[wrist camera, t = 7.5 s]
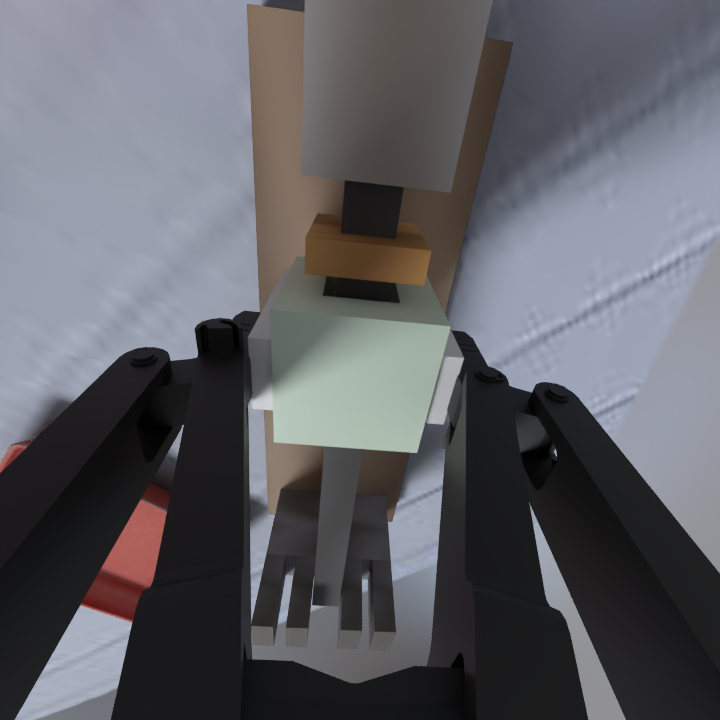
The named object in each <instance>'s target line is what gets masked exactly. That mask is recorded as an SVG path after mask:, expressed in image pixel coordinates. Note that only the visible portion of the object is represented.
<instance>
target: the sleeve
mask: <svg viewBox="0 0 720 720" xmlns="http://www.w3.org/2000/svg"><path fill="white" fill-rule="evenodd" d="M304 273H305V257H302V256H297V257H296V259H295V261H294V263H293V265H292V267H291V269H290V271H289V273H288V275H287V277H286V279H285V281H284V283H283V285H282V287H281V289H280V291H279V293H278V295H277V297H276V299H275V301H274V303H273V305H272V307H271V309H270V313H271V352H272V391H273V430H274V442H275V443H288V444H302V445H315V446H328V447H342V448H355V449H369V450H382V451H396V452H409V453H417V451H418V448H419V444H420V440H421V436H422V433H423V429H424V425H425V421H426V418H427V414H428V410H429V407H430V403H431V399H432V395H433V392H434V388H435V384H436V380H437V377H438V373H439V369H440V365H441V362H442V358H443V354H444V351H445V347H446V343H447V339H448V336H449V332H450V328H451V326H450V323H449V321H448V319H447V317H446V315H445V313H444V311H443V309H442V307H441V305H440V302H439V300H438V298H437V296H436V294H435V292H434V290H433V288H432V286H431V284H430V281H429V279H428V277H427V275H426V280H425V284H424V286H419V285H410V284H400V283H390V282H389V286H388V292H387V299H386V302H381V301H371V300H361V299H351V298H341V297H336V289H337V277H332V276H322V275H312V274H304Z"/></svg>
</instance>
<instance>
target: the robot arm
mask: <svg viewBox="0 0 720 720" xmlns="http://www.w3.org/2000/svg"><path fill="white" fill-rule="evenodd" d="M290 269H291V268H285V269H284V271H283V273H282V275H281V277H280V279H279V281H278V282H277V284H276V286H275V288H274V290H273V292H272V294H271V295H270V297H269V299H268V301H267V303H266V305H265V307H264V308H263V310H262V312H251V311H243V312H241V313H240V314H238V315H236V316H235V317H234V318H233V320H231V319H224V318H218V319H210V320H206V321H203V322H201V323H200V324H198V325H197V326H196V328H195V334H196V341H197V348H198V357H197V358H194V359H187V360H176V361H170V357H169V354H168V352H167V351H165V350H163V349H160V348H155V347H143V348H137V349H134V350H132V351H129V352H127V353H125V354H123V355H122V356H120V357H119V358H118V359H117V360H116V361H115V362H114V363H113V364H112V365H111V366H110V367H109V368H108V369H107V370H106V371H105V372H104V373H103V374H102V375H101V376H100V377H99V378H98V379H97V380H96V381H95V382H93V383H92V384H91V385H90V386H89V387H88V388H87V389H86V390H85V391H84V392H83V393H82V394H81V395H80V396H79V397H78V398H77V399H76V400H75V401H74V402H73V403H72V404H71V405H70V406H69V407H68V408H67V409H66V410H65V411H64V412H63V413H62V414H61V415H60V416H59V417H57V418H56V419H55V420H54V421H53V422H52V423H51V424H50V425H49V426H48V427H47V428H46V429H45V430H44V431H43V432H42V433H41V434H40V435H39V436H38V437H37V438H36V439H35V440H34V441H33V442H32V443H31V444H30V445H29V446H28V447H27V448H26V449H25V450H24V451H22V452H21V453H20V454H19V455H18V456H17V457H16V458H15V459H14V460H13V461H12V462H11V463H10V464H9V465H8V466H7V467H6V468H5V469H4V470H3V471H2V472H1V473H0V720H15V718H16V716H17V714H18V713H19V711H20V709H21V707H22V706H23V704H24V702H25V701H26V699H27V697H28V695H29V694H30V692H31V690H32V688H33V687H34V685H35V683H36V681H37V680H38V678H39V676H40V674H41V673H42V671H43V669H44V667H45V666H46V664H47V662H48V660H49V659H50V657H51V655H52V653H53V652H54V650H55V648H56V646H57V645H58V643H59V641H60V639H61V638H62V636H63V634H64V632H65V631H66V629H67V627H68V625H69V624H70V622H71V620H72V619H73V617H74V615H75V613H76V612H77V610H78V608H79V606H80V605H81V603H82V601H83V599H84V598H85V596H86V594H87V592H88V591H89V589H90V587H91V585H92V584H93V582H94V580H95V578H96V577H97V575H98V573H99V571H100V570H101V568H102V566H103V564H104V563H105V561H106V559H107V557H108V556H109V554H110V552H111V550H112V549H113V547H114V545H115V543H116V542H117V540H118V538H119V536H120V535H121V533H122V531H123V530H124V528H125V526H126V524H127V523H128V521H129V519H130V517H131V516H132V514H133V512H134V510H135V509H136V507H137V505H138V503H139V502H140V500H141V498H142V496H143V495H144V493H145V491H146V489H147V488H148V486H149V484H150V482H151V481H152V479H153V477H154V475H155V474H156V472H157V470H158V468H159V467H160V465H161V463H162V461H163V460H164V458H165V456H166V454H167V453H168V451H169V449H170V448H171V446H172V444H173V442H174V441H175V439H176V437H177V435H178V434H179V432H180V430H181V428H182V425H184V428H183V433H182V438H181V443H180V448H179V453H178V458H177V463H176V468H175V473H174V478H173V483H172V489H171V494H170V499H169V504H168V509H167V514H166V519H165V524H164V529H163V534H162V539H161V544H160V549H159V554H158V560H157V565H156V570H155V574H154V578H153V582H152V584H151V586H150V587H148V588H146V589H144V590H143V592H142V594H141V596H140V598H139V600H138V603H137V607H136V610H135V614H134V618H133V622H132V627H131V631H130V636H129V640H128V645H127V649H126V654H125V658H124V663H123V668H122V672H121V677H120V681H119V686H118V690H117V695H116V699H115V704H114V708H113V713H112V717H111V720H588V716H587V712H586V707H585V702H584V697H583V692H582V688H581V683H580V679H579V674H578V669H577V664H576V659H575V655H574V650H573V645H572V640H571V636H570V632H569V629H568V626H567V622H566V620H565V618H564V617H563V615H562V613H561V612H560V611H559V610H557V609H554V608H552V607H550V606H549V604H548V602H547V600H546V596H545V591H544V586H543V580H542V574H541V568H540V563H539V557H538V551H537V546H536V539H535V534H534V528H533V522H532V516H531V510H530V505H531V507H532V509H533V511H534V514H535V516H536V518H537V520H538V523H539V525H540V527H541V529H542V531H543V534H544V536H545V538H546V541H547V543H548V545H549V547H550V549H551V552H552V554H553V556H554V559H555V561H556V563H557V565H558V568H559V570H560V572H561V574H562V577H563V579H564V581H565V583H566V586H567V588H568V590H569V592H570V595H571V597H572V599H573V601H574V604H575V606H576V608H577V610H578V613H579V615H580V617H581V619H582V621H583V624H584V626H585V628H586V630H587V633H588V635H589V637H590V640H591V642H592V644H593V646H594V649H595V651H596V653H597V655H598V658H599V660H600V662H601V664H602V667H603V669H604V671H605V673H606V675H607V678H608V680H609V682H610V685H611V687H612V689H613V691H614V694H615V696H616V698H617V700H618V702H619V705H620V707H621V709H622V712H623V714H624V716H625V718H626V720H720V573H719V572H718V571H717V570H716V568H715V567H714V566H713V565H712V563H711V562H710V561H709V560H708V558H707V557H706V556H705V555H704V553H703V552H702V551H701V550H700V548H699V547H698V546H697V545H696V543H695V542H694V541H693V540H692V539H691V537H690V536H689V535H688V534H687V532H686V531H685V530H684V529H683V527H682V526H681V525H680V524H679V522H678V521H677V520H676V519H675V517H674V516H673V515H672V514H671V512H670V511H669V510H668V509H667V507H666V506H665V505H664V504H663V503H662V501H661V500H660V499H659V498H658V496H657V495H656V494H655V493H654V491H653V490H652V489H651V488H650V486H649V485H648V484H647V483H646V482H645V480H644V479H643V478H642V477H641V475H640V474H639V473H638V472H637V470H636V469H635V468H634V467H633V465H632V464H631V463H630V462H629V460H628V459H627V458H626V457H625V455H624V454H623V453H622V452H621V450H620V449H619V448H618V447H617V445H616V444H615V443H614V442H613V440H612V439H611V438H610V437H609V435H608V434H607V433H606V432H605V430H604V429H603V428H602V427H601V426H600V424H599V423H598V422H597V421H596V419H595V418H594V417H593V416H592V414H591V413H590V412H589V411H588V409H587V408H586V407H585V406H584V404H583V403H582V402H581V401H580V399H579V398H578V397H577V396H576V395H575V394H574V393H573V392H571V391H570V390H568V389H566V388H565V387H563V386H561V385H558V384H555V383H554V384H553V383H548V382H542V383H538V384H536V385H535V388H534V390H533V392H532V393H531V392H528V391H524V390H520V389H517V388H514V387H511V386H509V383H508V380H507V378H506V376H505V375H504V374H502V373H501V372H500V371H498V370H496V369H494V368H491V367H488V365H487V364H486V362H485V360H484V358H483V356H482V354H481V353H480V351H479V349H478V347H476V344H475V342H474V340H473V338H471V337H470V336H469V335H468V334H466V333H465V332H462V331H452V330H451V329H450V332H449V336H448V339H447V343H446V347H445V351H444V354H443V358H442V362H441V365H440V369H439V373H438V377H437V380H436V384H435V388H434V392H433V395H432V399H431V403H430V407H429V410H428V414H427V418H426V421H425V423H430V424H442V425H444V422H445V418H446V415H447V412H448V414H449V417H450V424H449V427H448V430H447V433H446V436H445V439H444V443H443V446H442V448H443V449H445V448H446V452H445V465H444V479H443V493H442V506H441V520H440V534H439V547H438V561H437V575H436V588H435V602H434V617H433V629H432V641H431V649H430V655H429V659H428V663H427V667H425V666H413V667H410V668H407V669H404V670H401V671H397V672H394V673H391V674H387V675H384V676H381V677H378V678H375V679H371V680H368V681H365V682H362V683H358V684H353V683H348V682H346V681H343V680H341V679H338V678H335V677H332V676H330V675H328V674H325V673H322V672H320V671H317V670H315V669H312V668H309V667H307V666H304V665H302V664H299V663H296V662H294V661H277V660H252V646H251V645H252V644H251V580H250V501H249V423H248V403H249V401H250V398H251V401H252V409H261V410H273V391H272V352H271V313H270V309H271V307H272V305H273V303H274V301H275V299H276V297H277V295H278V293H279V291H280V289H281V287H282V285H283V283H284V281H285V279H286V277H287V275H288V273H289V271H290ZM555 449H556V451H557V457H556V455H555V454H554V450H555ZM529 502H530V505H529Z"/></svg>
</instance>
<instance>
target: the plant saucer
mask: <svg viewBox="0 0 720 720" xmlns="http://www.w3.org/2000/svg"><path fill="white" fill-rule="evenodd" d="M33 441H34V440H33ZM33 441H24V442H19V443H15V444H12V445H11V446H10V447H9V449H8V450H7V452H6V453H5V455H4V457H3V458H2V459H1V462H0V473H1V472H2V471H3V470H4V469H5V468H6V467H7V466H8V465H9V464H10V463H11V462H12V461H13V460H14V459H15V458H16V457H17V456H18V455H19V454H20V453H21V452H22V451H24V450H25V449H26V448H27V447H28V446H29V445H30V444H31V443H32V442H33ZM170 494H171V492H169V491H167V490H165V489H163V488H161V487H159V486H157V485H155V484H153V483H151V482H150V484H149V486H148V488H147V489H146V491H145V493H144V495H143V496H142V498H141V500H140V502H139V503H138V505H137V507H136V509H135V510H134V512H133V514H132V516H131V517H130V519H129V521H128V523H127V524H126V526H125V528H124V530H123V531H122V533H121V535H120V536H119V538H118V540H117V542H116V543H115V545H114V547H113V549H112V550H111V552H110V554H109V556H108V557H107V559H106V561H105V563H104V564H103V566H102V568H101V570H100V571H99V573H98V575H97V577H96V578H95V580H94V582H93V584H92V585H91V587H90V589H89V591H88V592H87V594H86V596H85V598H84V599H83V601H82V603H81V606H84V607H87V608H90V609H93V610H96V611H99V612H102V613H105V614H108V615H111V616H114V617H117V618H120V619H123V620H126V621H129V622H133V618H134V614H135V610H136V607H137V603H138V600H139V598H140V596H141V594H142V592H143V590H144V589H146V588H148V587H150V586H151V584H152V582H153V578H154V574H155V570H156V565H157V560H158V554H159V549H160V544H161V539H162V534H163V529H164V524H165V519H166V514H167V509H168V504H169V499H170Z"/></svg>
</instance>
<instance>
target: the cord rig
mask: <svg viewBox="0 0 720 720" xmlns="http://www.w3.org/2000/svg"><path fill="white" fill-rule="evenodd" d="M492 3H493V0H305V12H300V11H293V10H286V9H279V8H272V7H266V6H259V5H252V4H247V18H248V42H249V66H250V89H251V113H252V136H253V160H254V183H255V207H256V230H257V254H258V278H259V301H260V312H262V310H263V308H264V307H265V305H266V303H267V301H268V299H269V297H270V295H271V294H272V292H273V290H274V288H275V286H276V284H277V282H278V281H279V279H280V277H281V275H282V273H283V271H284V269H285V268H291V267H292V265H293V263H294V261H295V259H296V257H297V256H302V257H305V273H304V274H312V275H322V276H332V277H337V289H336V297H341V298H351V299H361V300H371V301H381V302H386V299H387V292H388V286H389V282H390V283H400V284H410V285H419V286H424V284H425V280H426V275H427V277H428V279H429V281H430V284H431V286H432V288H433V290H434V292H435V294H436V296H437V298H438V300H439V302H440V305H441V307H442V309H443V311H444V313H445V311H446V307H447V303H448V299H449V295H450V291H451V287H452V283H453V279H454V275H455V271H456V267H457V263H458V259H459V255H460V252H461V248H462V244H463V240H464V236H465V232H466V228H467V224H468V220H469V216H470V212H471V208H472V204H473V200H474V196H475V192H476V188H477V184H478V180H479V176H480V172H481V168H482V164H483V160H484V157H485V153H486V149H487V145H488V141H489V137H490V133H491V129H492V125H493V121H494V117H495V113H496V109H497V105H498V101H499V97H500V93H501V89H502V85H503V81H504V77H505V73H506V69H507V65H508V62H509V58H510V54H511V50H512V46H513V42H507V41H500V40H493V39H486V38H485V35H486V30H487V25H488V21H489V16H490V12H491V7H492ZM264 419H265V443H266V466H267V490H268V513H269V514H275V518H274V522H273V527H272V531H271V536H270V541H269V545H268V550H267V554H266V559H265V563H264V568H263V573H262V577H261V582H260V586H259V591H258V596H257V600H256V605H255V609H254V614H253V618H252V623H251V632H252V641H253V645H266V646H274V642H275V636H276V629H277V624H278V618H279V612H280V606H281V599H282V593H283V587H284V581H285V575H294V576H293V583H292V590H291V596H290V603H289V610H288V617H287V624H286V646H291V647H307V638H308V629H309V619H310V609H311V599H312V589H313V579H314V589H313V602H312V605H319V606H339V620H338V622H339V623H338V645H337V648H339V649H358V646H359V642H360V637H361V634H362V579H368V605H369V649H370V650H388V651H389V650H390V648H391V645H392V642H393V639H394V636H395V634H396V626H395V614H394V600H393V586H392V573H391V560H390V546H389V533H388V522H392V521H393V517H394V513H395V509H396V505H397V501H398V497H399V493H400V489H401V485H402V481H403V477H404V473H405V469H406V465H407V461H408V457H409V452H396V451H382V450H369V449H355V448H342V447H328V446H315V445H302V444H288V443H275V442H274V430H273V410H264Z"/></svg>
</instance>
